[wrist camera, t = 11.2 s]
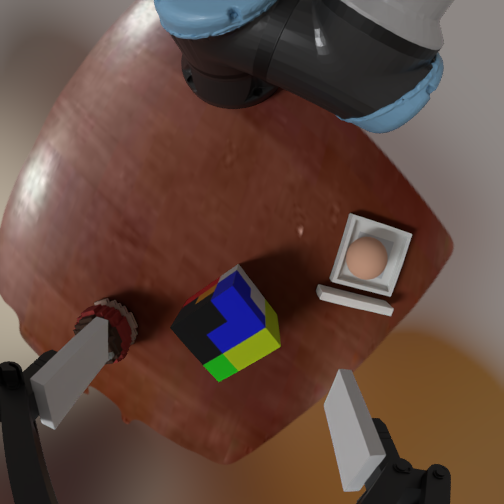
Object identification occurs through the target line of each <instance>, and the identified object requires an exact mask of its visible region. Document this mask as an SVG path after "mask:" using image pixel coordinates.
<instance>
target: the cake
mask: <svg viewBox="0 0 504 504" xmlns="http://www.w3.org/2000/svg"><path fill="white" fill-rule="evenodd" d="M94 304H95V306H91V307H88V308H87V309H86V310H85V311H83V312H82V313H81V316H80V317H78V318H77V321H78V322H77V323H76V325H75V329H74V330H73V331H74V333H75V336H76V335H77V334H78V333H79V332H80V331H81V330H82V329H83V328H84V327H86V326H87V325H88V324H89V323H90V322H91V321H92V320H93V319H94V318H95V317H99V318H103V319H106V320H108V361H107V362H106V363H105V364H112V363H118V362H119V361H121V360H122V359H124V358H125V356H126V355H127V352H128V350H129V347H130V346H131V344H134V340H135V339H136V337H135V336H137V334H138V333H137V331H136V329H135V328H137V327H138V325H137V323H136V321H135V318H134V316H133V314H132V312H130V313H128V311H127V308H126V306H122V305H121V303H118V304H117V302H116V300H114V301H110V302H109V299H108V298H106V299H103V300H99V301H96V302H95V303H94ZM105 364H104V365H105Z"/></svg>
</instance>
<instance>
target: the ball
mask: <svg viewBox="0 0 504 504" xmlns="http://www.w3.org/2000/svg"><path fill="white" fill-rule="evenodd" d="M387 260H388V256H387V251H386V249H385V247H384V245H383V244H382V243H381V242H380V241H379V240H377V239H375V238H372V237H361V238H359V239H357V240H355V241H354V242H353V243H352V244H351V245H350V246H349V248H348V250H347V254H346V263H347V266H348V268H349V270H350V272H351V273H352V274H353V275H354V276H356V277H358V278H360V279H364V280H370V279H374V278H376V277H378V276H379V275H380V274H381V273H382V272H383V271H384V269H385V268H386V265H387Z"/></svg>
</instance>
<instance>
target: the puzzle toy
mask: <svg viewBox="0 0 504 504" xmlns="http://www.w3.org/2000/svg"><path fill="white" fill-rule="evenodd" d="M170 328H171V329H172V330H173V332H174V333H175V334H176V335H177V336H178V337H179V339H180V340H181V341H182V342H183V343H184V344H185V346H186V347H187V348H188V349H189V350H190V351H191V352H192V353H193V355H194V356H195V357H196V358H197V359H198V360H199V361H200V362H201V363H202V364H203V366H204V367H205V368H206V369H207V370H208V371H209V372H210V373H211V374H212V375H213V376H214V377H215V378H216V380H217V381H218V382H220V381H221V380H223V379H225V378H227V377H229V376H231V375H232V374H234V373H236V372H238V371H240V370H241V369H243V368H245V367H247V366H248V365H250V364H252V363H254V362H255V361H257V360H259V359H261V358H262V357H264V356H266V355H267V354H269V353H271V352H272V351H274V350H276V349H277V348H279V347H281V343H280V334H279V326H278V317H277V314H276V313H275V311H274V310H273V309H272V307H271V306H270V305H269V303H268V302H267V301H266V299H265V298H264V297H263V296H262V294H261V293H260V292H259V290H258V289H257V288H256V286H255V285H254V284H253V282H252V281H251V280H250V278H249V277H248V276H247V274H246V273H245V272H244V270H243V269H242V268H241V266H240V265H239V264H238V265H236V266H235V267H233V268H232V269H231V270H229V271H228V272H226V273H225V274H223V275H222V276H221V277H219V278H218V279H216V280H215V281H213V282H212V283H210V284H209V285H208V286H206V287H205V288H203V289H202V290H200V291H199V292H198V293H196V294H195V295H193V296H192V297H190V298H189V299H188V300H187V301H186V302H185V304H184V306H183V307H182V309H181V311H180V312H179V314H178V316H177V317H176V319H175V321H174V322H173V324H172V326H171V327H170Z"/></svg>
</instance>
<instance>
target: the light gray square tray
mask: <svg viewBox="0 0 504 504" xmlns="http://www.w3.org/2000/svg"><path fill="white" fill-rule="evenodd" d="M361 237H372V238H375V239H377V240H379V241H380V242H381V243H382V244H383V245H384V247H385V249H386V251H387V256H388V260H387V265H386V268H385V269H384V271H383V272H382V273H381V274H380V275H379V276H378V277H376V278H374V279H370V280H364V279H360V278H358V277H356V276H354V275H353V274H352V273H351V272H350V270H349V268H348V266H347V263H346V254H347V250H348V248H349V246H350V245H351V244H352V243H353V242H354V241H355V240H357V239H359V238H361ZM411 237H412V234H411V233H408V232H405V231H402V230H399V229H397V228H394V227H391V226H388V225H385V224H382V223H379V222H376V221H373V220H370V219H367V218H364V217H361V216H357V215H354V214H351V213H350V214H349V217H348V221H347V224H346V228H345V231H344V234H343V237H342V241H341V244H340V247H339V250H338V253H337V257H336V260H335V263H334V266H333V269H332V272H331V275H330V280H331V281H332V282H334V283H338V284H342V285H346V286H350V287H354V288H358V289H362V290H366V291H370V292H374V293H378V294H382V295H385V296H389V297H391V295H392V292H393V290H394V287H395V284H396V281H397V279H398V276H399V273H400V270H401V267H402V264H403V261H404V259H405V256H406V252H407V249H408V246H409V243H410V240H411Z"/></svg>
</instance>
